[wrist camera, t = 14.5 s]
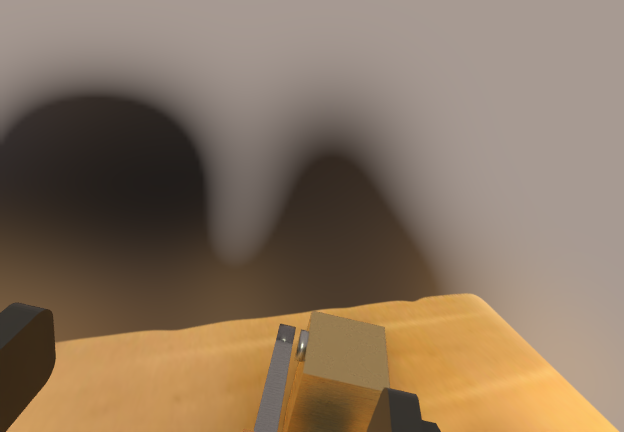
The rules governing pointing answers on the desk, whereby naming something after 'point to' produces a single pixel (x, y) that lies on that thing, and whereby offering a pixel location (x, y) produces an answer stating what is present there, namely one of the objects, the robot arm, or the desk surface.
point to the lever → (275, 382)
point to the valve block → (337, 375)
